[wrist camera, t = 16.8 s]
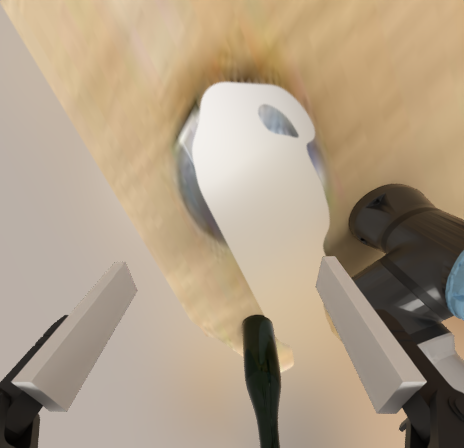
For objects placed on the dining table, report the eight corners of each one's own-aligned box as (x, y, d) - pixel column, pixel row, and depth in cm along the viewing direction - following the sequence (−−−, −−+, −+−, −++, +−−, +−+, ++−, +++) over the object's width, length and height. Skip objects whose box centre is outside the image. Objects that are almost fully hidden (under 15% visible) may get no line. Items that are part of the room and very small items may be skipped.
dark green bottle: (236, 324, 65) (235, 485, 36) (257, 309, 61) (276, 477, 32) (257, 336, 68) (272, 493, 40) (278, 323, 65) (313, 487, 36)
